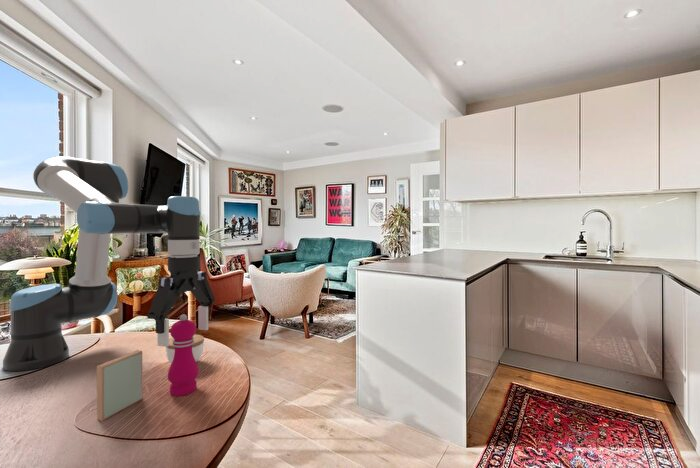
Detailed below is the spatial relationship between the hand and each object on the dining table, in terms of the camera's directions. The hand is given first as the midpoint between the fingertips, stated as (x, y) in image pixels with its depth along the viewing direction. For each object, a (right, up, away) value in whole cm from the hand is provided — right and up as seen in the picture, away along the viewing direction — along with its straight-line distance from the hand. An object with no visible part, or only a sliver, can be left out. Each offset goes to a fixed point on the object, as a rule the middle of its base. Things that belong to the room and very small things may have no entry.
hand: (184, 337), depth 88 cm
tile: (-11, -14, -9) cm, 20 cm away
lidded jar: (-8, -14, +16) cm, 23 cm away
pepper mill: (0, -14, 0) cm, 14 cm away
